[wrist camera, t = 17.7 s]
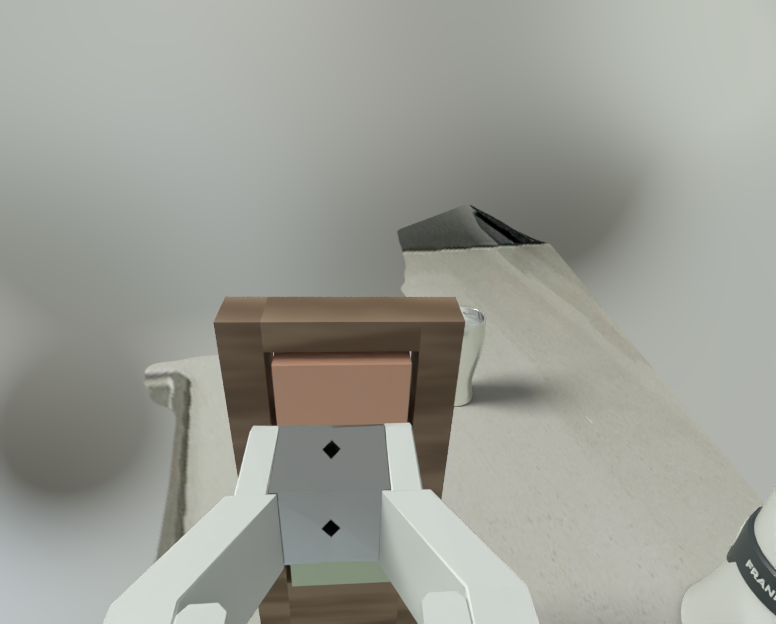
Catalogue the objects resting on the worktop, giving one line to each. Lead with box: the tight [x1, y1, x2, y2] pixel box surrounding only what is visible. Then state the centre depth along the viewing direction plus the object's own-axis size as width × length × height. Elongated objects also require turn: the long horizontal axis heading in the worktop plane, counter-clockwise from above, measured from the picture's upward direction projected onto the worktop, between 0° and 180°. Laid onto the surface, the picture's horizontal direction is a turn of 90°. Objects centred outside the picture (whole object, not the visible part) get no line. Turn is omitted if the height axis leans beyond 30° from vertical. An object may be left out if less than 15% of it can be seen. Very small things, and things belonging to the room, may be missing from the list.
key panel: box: [214, 297, 465, 624], centre depth 38 cm, size 3×14×37 cm, turn 94°
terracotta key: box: [271, 351, 412, 426], centre depth 31 cm, size 4×8×5 cm, turn 94°
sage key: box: [290, 561, 390, 586], centre depth 39 cm, size 4×8×5 cm, turn 94°
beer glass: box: [454, 305, 486, 406], centre depth 77 cm, size 7×7×15 cm
